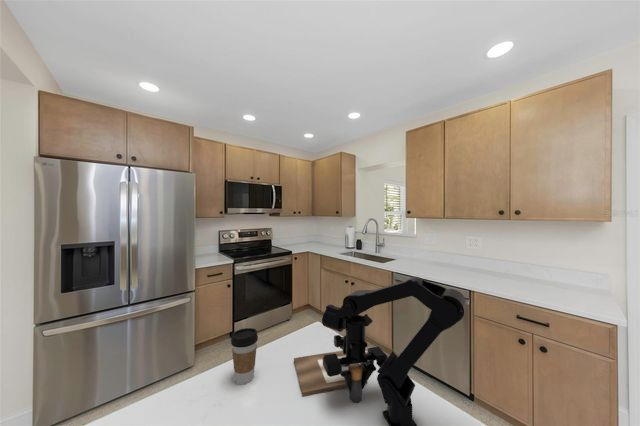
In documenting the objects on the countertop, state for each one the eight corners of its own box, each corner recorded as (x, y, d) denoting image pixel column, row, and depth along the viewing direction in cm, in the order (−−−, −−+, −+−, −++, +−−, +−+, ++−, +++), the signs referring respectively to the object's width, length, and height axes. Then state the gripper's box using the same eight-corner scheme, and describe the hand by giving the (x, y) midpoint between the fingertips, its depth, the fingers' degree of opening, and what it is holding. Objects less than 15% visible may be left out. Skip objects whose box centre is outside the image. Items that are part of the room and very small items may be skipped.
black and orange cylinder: (364, 401, 66) (364, 370, 66) (351, 404, 65) (351, 372, 65) (358, 391, 70) (358, 362, 70) (346, 394, 69) (346, 364, 69)
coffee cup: (249, 389, 71) (250, 340, 71) (225, 385, 73) (225, 337, 73) (262, 371, 79) (262, 327, 79) (239, 368, 81) (239, 325, 81)
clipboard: (367, 383, 74) (367, 378, 74) (302, 396, 68) (302, 391, 68) (347, 352, 90) (347, 349, 90) (293, 361, 85) (293, 357, 85)
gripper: (371, 320, 78) (371, 366, 78) (318, 327, 73) (317, 376, 73) (389, 337, 67) (389, 390, 67) (328, 346, 63) (328, 404, 62)
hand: (355, 389), depth 68 cm, fingers closed on black and orange cylinder, 4 cm apart
